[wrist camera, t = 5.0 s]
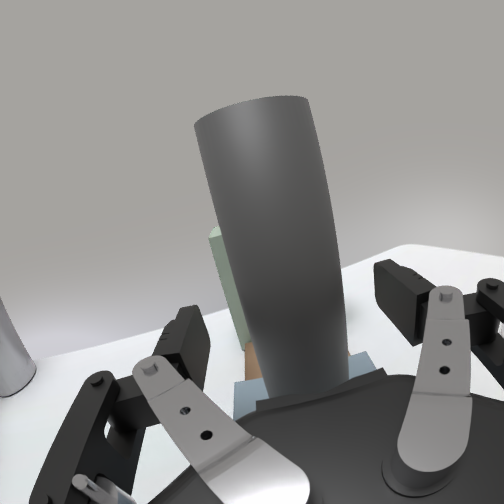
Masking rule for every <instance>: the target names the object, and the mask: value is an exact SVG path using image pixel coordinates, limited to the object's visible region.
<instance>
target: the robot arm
mask: <svg viewBox="0 0 504 504" xmlns="http://www.w3.org/2000/svg"><path fill="white" fill-rule="evenodd" d="M374 285H375V298H376V302H377V304H378V306H379V308H380V309H381V310H382V311H383V312H384V313H385V314H386V316H387V317H388V318H389V319H390V320H391V321H392V323H393V324H394V325H395V326H396V327H397V328H398V330H399V331H400V332H401V333H402V334H403V336H404V337H405V338H406V339H407V340H408V342H409V343H410V344H411V345H412V346H416V345H418V344H421V343H423V344H422V350H421V355H420V360H419V365H418V370H417V375H416V376H413V375H400V374H398V375H387V374H386V372H385V370H384V369H383V368H380V369H377V370H374V371H372V372H369V373H366V374H363V375H359V376H356V377H353V378H351V379H350V380H348V381H346V382H344V383H342V384H340V385H338V386H336V387H334V388H332V389H330V390H328V391H326V392H323V393H313V394H292V395H284V396H279V397H274V398H269V399H263V400H257V401H256V410H255V411H252V412H250V413H248V414H246V415H244V416H242V417H240V418H239V419H237V420H236V421H234V420H232V419H231V418H230V417H229V416H228V415H227V414H226V413H225V412H224V411H222V410H221V409H220V408H219V407H218V406H217V405H216V404H215V403H214V402H213V401H212V400H211V399H210V398H209V397H208V396H207V395H206V394H204V393H203V388H204V382H205V376H206V370H207V364H208V358H209V352H210V338H209V334H208V331H207V329H206V326H205V323H204V320H203V318H202V315H201V312H200V309H199V307H198V306H197V305H193V306H187V307H182V308H180V309H179V312H178V314H177V316H176V319H175V320H172V321H170V322H169V323H168V324H167V325H166V326H165V327H164V330H163V332H162V335H161V336H160V338H159V341H158V343H157V345H156V347H155V349H154V352H153V354H152V356H150V357H147V358H145V359H143V360H141V361H140V362H138V363H137V364H136V365H135V366H134V368H133V371H132V374H133V375H131V376H128V377H124V378H121V379H117V380H116V379H115V377H114V376H113V374H112V373H111V372H110V371H99V372H96V373H94V374H92V375H91V376H90V377H88V378H87V379H86V381H85V382H84V384H83V385H82V387H81V389H80V391H79V393H78V395H77V396H76V398H75V400H74V402H73V404H72V406H71V408H70V410H69V412H68V413H67V415H66V417H65V419H64V421H63V423H62V425H61V427H60V429H59V431H58V433H57V435H56V438H55V440H54V442H53V444H52V446H51V448H50V450H49V453H48V455H47V457H46V459H45V461H44V464H43V466H42V468H41V471H40V473H39V476H38V478H37V480H36V483H35V485H34V488H33V490H32V493H31V496H30V499H29V504H136V502H135V500H134V499H133V498H132V497H131V494H132V489H133V484H134V479H135V474H136V469H137V465H138V460H139V456H140V451H141V447H142V443H143V438H144V434H145V430H146V427H149V426H153V425H156V424H160V423H161V424H162V425H163V427H164V428H165V430H166V431H167V433H168V434H169V436H170V437H171V438H172V440H173V441H174V443H175V444H176V445H177V447H178V448H179V449H180V451H181V452H182V453H183V455H184V456H185V457H186V459H187V460H188V461H189V463H190V464H191V465H190V466H189V467H188V468H186V469H185V470H184V471H183V472H182V473H181V474H180V475H179V476H178V477H177V478H176V479H175V480H174V481H173V482H172V483H171V484H169V485H168V486H167V487H166V488H165V489H164V490H163V491H162V492H161V493H159V494H158V495H157V496H156V497H155V498H154V499H152V500H151V501H150V502H149V503H148V504H504V401H500V400H496V399H492V398H488V397H484V396H481V395H477V394H473V393H470V377H471V351H472V352H473V353H474V354H475V355H476V357H477V358H478V359H479V360H480V361H481V362H482V364H483V365H484V366H485V367H486V368H487V369H488V371H489V372H490V373H491V374H492V375H493V377H494V378H495V379H496V380H497V382H498V383H499V384H500V385H501V387H502V388H503V389H504V338H503V337H502V336H501V335H500V334H499V333H498V328H499V324H500V321H501V322H502V323H503V324H504V282H502V281H500V280H498V279H494V278H486V279H483V280H481V281H479V282H478V284H477V292H476V293H472V294H467V295H463V294H462V292H461V291H460V290H459V289H457V288H455V287H452V286H439V287H436V286H435V285H433V284H432V283H431V282H429V281H428V280H426V279H425V278H423V277H422V276H421V275H419V274H418V273H417V272H415V271H414V270H412V269H410V268H407V267H404V266H400V265H398V264H397V263H395V262H394V261H392V260H391V259H387V260H384V261H380V262H376V263H375V264H374ZM35 370H36V366H35V364H34V362H33V361H32V359H31V357H30V356H29V354H28V352H27V350H26V349H25V347H24V345H23V343H22V341H21V339H20V338H19V336H18V334H17V332H16V330H15V328H14V326H13V324H12V322H11V320H10V318H9V316H8V314H7V312H6V309H5V307H4V305H3V302H2V300H1V298H0V396H9V395H11V394H14V393H15V392H17V391H19V390H20V389H21V388H23V387H24V386H25V385H26V384H27V383H28V382H29V381H30V380H31V378H32V377H33V375H34V373H35ZM107 421H108V422H109V424H110V425H111V427H110V429H109V432H108V435H107V438H105V435H104V428H105V425H106V423H107Z"/></svg>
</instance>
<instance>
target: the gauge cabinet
mask: <svg viewBox="0 0 504 504" xmlns="http://www.w3.org/2000/svg"><path fill="white" fill-rule="evenodd" d="M209 242H210V246H211V249H212V253H213V256H214V260H215V263H216V267H217V270H218V273H219V277H220V280H221V284H222V287H223V290H224V294H225V297H226V300H227V303H228V307H229V310H230V313H231V316H232V319H233V323H234V326H235V329H236V332H237V335H238V338H239V341H240V345H241V348H242V350H245V343H250V342H252V341H251V337H250V334H249V330H248V327H247V324H246V320H245V317H244V313H243V310H242V306H241V303H240V299H239V296H238V292H237V289H236V285H235V282H234V278H233V275H232V271H231V267H230V264H229V260H228V257H227V253H226V249H225V246H224V242H223V238H222V234H221V231H220V227H219V226H218V227H214V228H213V230H212V232H211V234H210V236H209Z"/></svg>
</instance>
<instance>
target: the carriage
mask: <svg viewBox="0 0 504 504" xmlns="http://www.w3.org/2000/svg"><path fill="white" fill-rule="evenodd" d="M194 128H195V132H196V136H197V141H198V145H199V149H200V153H201V157H202V161H203V165H204V169H205V172H206V177H207V180H208V185H209V189H210V193H211V196H212V200H213V204H214V208H215V212H216V215H217V219H218V223H219V227H220V231H221V234H222V238H223V242H224V246H225V249H226V253H227V257H228V260H229V264H230V267H231V271H232V275H233V278H234V282H235V285H236V289H237V292H238V296H239V299H240V303H241V306H242V310H243V313H244V317H245V320H246V324H247V327H248V330H249V334H250V337H251V341H252V344H253V347H254V351H255V354H256V357H257V361H258V364H259V367H260V370H261V374H262V377H263V378H258V379H252V380H247V381H241V382H235V385H234V414H233V420H234V421H236V420H237V419H239V418H240V417H242V416H244V415H246V414H248V413H250V412H252V411H255V410H256V401H257V400H263V399H269V398H274V397H279V396H284V395H292V394H313V393H323V392H326V391H328V390H330V389H332V388H334V387H336V386H338V385H340V384H342V383H344V382H346V381H348V380H350V379H351V378H353V377H356V376H359V375H363V374H366V373H369V372H372V371H374V370H377V369H376V367H375V366H374V364H373V362H372V361H371V359H370V357H369V356H368V354H367V352H366V351H365V352H362V353H358V354H355V355H352V356H349V357H348V343H347V328H346V315H345V304H344V293H343V284H342V275H341V267H340V259H339V252H338V245H337V238H336V231H335V225H334V219H333V213H332V207H331V201H330V195H329V190H328V185H327V180H326V175H325V170H324V165H323V160H322V156H321V152H320V147H319V142H318V138H317V134H316V130H315V126H314V121H313V118H312V114H311V110H310V106H309V102H308V100H307V99H306V98H304V97H300V96H275V97H274V96H273V97H265V98H259V99H254V100H249V101H245V102H241V103H237V104H233V105H231V106H227V107H224V108H222V109H219V110H217V111H214V112H212V113H210V114H208V115H206V116H204V117H202V118H201V119H199V120H198V121H197V122H196V123H195V124H194Z"/></svg>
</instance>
